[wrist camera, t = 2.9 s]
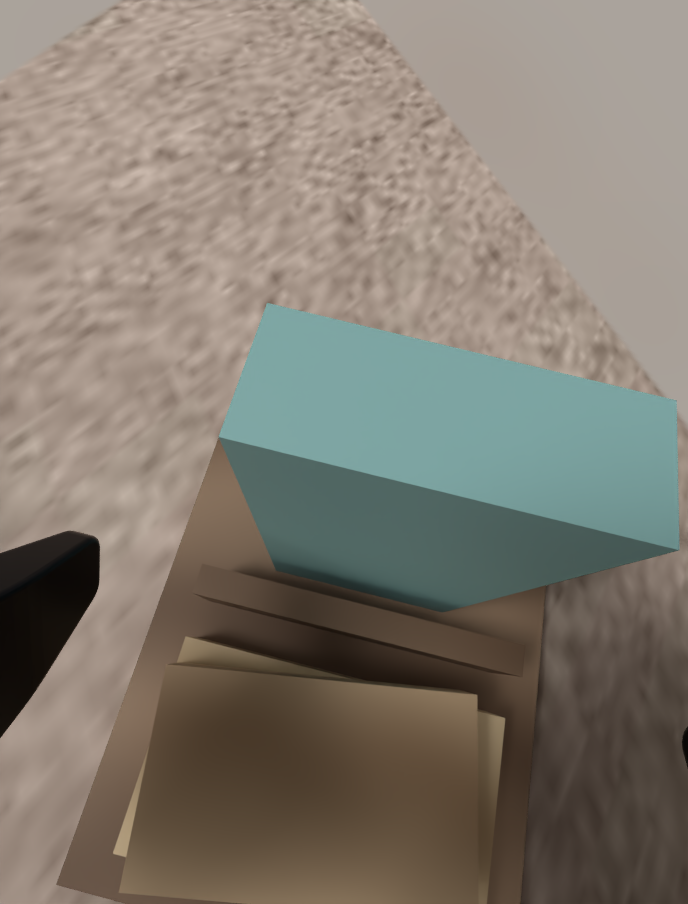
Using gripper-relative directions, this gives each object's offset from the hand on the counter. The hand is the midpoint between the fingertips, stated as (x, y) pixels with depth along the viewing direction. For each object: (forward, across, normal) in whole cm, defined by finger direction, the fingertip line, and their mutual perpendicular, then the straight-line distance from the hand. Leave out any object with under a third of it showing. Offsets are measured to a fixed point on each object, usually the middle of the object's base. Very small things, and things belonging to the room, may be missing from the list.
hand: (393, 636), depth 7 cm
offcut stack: (+4, 0, +9) cm, 9 cm away
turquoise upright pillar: (+8, 0, +4) cm, 9 cm away
